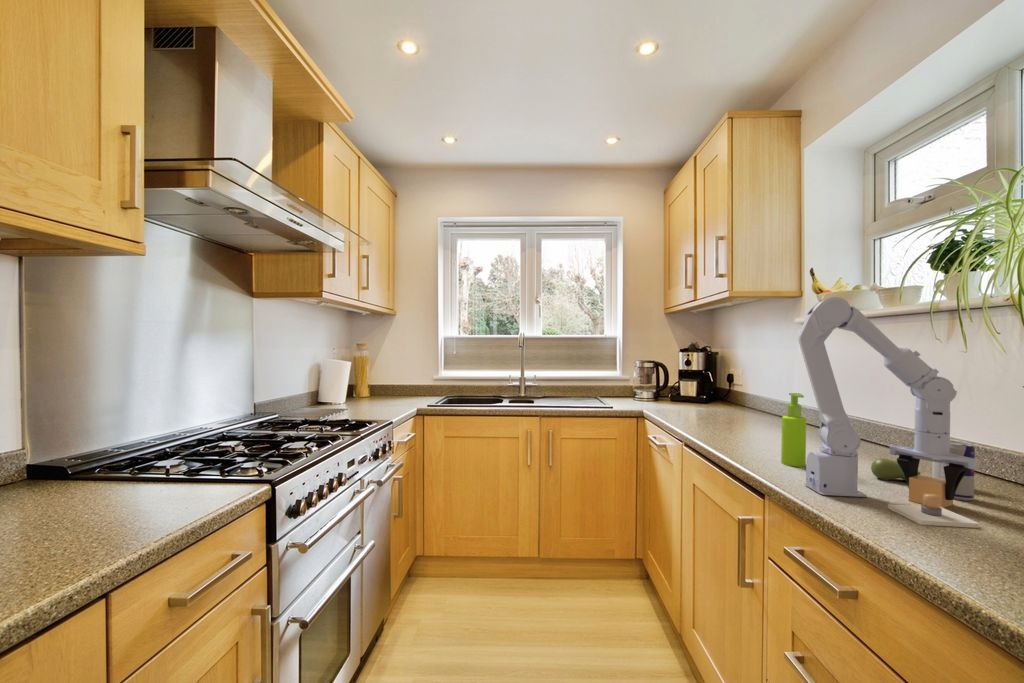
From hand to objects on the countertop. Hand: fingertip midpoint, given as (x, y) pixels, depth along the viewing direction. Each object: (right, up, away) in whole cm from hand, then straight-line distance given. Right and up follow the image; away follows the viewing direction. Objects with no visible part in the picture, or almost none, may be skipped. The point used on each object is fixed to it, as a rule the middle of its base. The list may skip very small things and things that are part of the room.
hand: (930, 495), depth 102 cm
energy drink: (+9, -2, +4) cm, 10 cm away
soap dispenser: (-11, -2, +31) cm, 33 cm away
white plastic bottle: (+15, -2, +14) cm, 21 cm away
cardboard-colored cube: (0, -2, 0) cm, 2 cm away
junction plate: (-8, -1, -9) cm, 12 cm away
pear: (+6, -2, +17) cm, 19 cm away
